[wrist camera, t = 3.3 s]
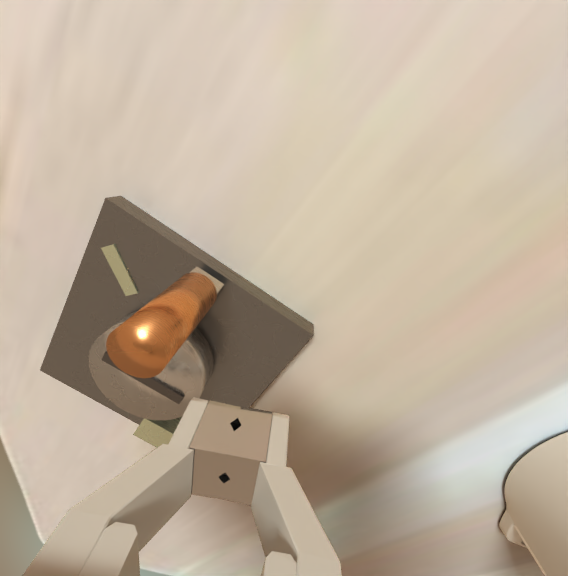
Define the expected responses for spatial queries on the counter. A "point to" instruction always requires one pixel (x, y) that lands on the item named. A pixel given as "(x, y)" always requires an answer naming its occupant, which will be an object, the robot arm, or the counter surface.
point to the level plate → (150, 283)
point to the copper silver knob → (158, 351)
